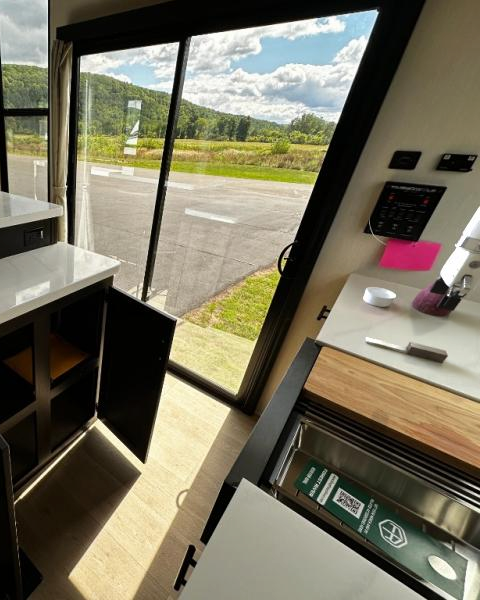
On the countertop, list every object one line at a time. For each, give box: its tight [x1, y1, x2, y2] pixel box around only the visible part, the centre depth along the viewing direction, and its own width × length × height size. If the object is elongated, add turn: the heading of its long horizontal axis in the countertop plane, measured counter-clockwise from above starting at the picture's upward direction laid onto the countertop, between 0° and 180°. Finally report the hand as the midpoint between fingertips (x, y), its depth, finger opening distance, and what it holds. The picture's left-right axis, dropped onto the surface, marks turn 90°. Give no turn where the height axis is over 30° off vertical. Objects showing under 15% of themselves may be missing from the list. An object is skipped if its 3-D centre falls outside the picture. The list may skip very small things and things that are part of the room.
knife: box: [364, 336, 449, 364], centre depth 99 cm, size 18×3×3 cm, turn 56°
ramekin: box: [363, 286, 397, 308], centre depth 122 cm, size 9×9×4 cm
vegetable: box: [411, 278, 452, 317], centre depth 114 cm, size 10×10×15 cm
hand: (440, 300), depth 89 cm, fingers open, 9 cm apart
